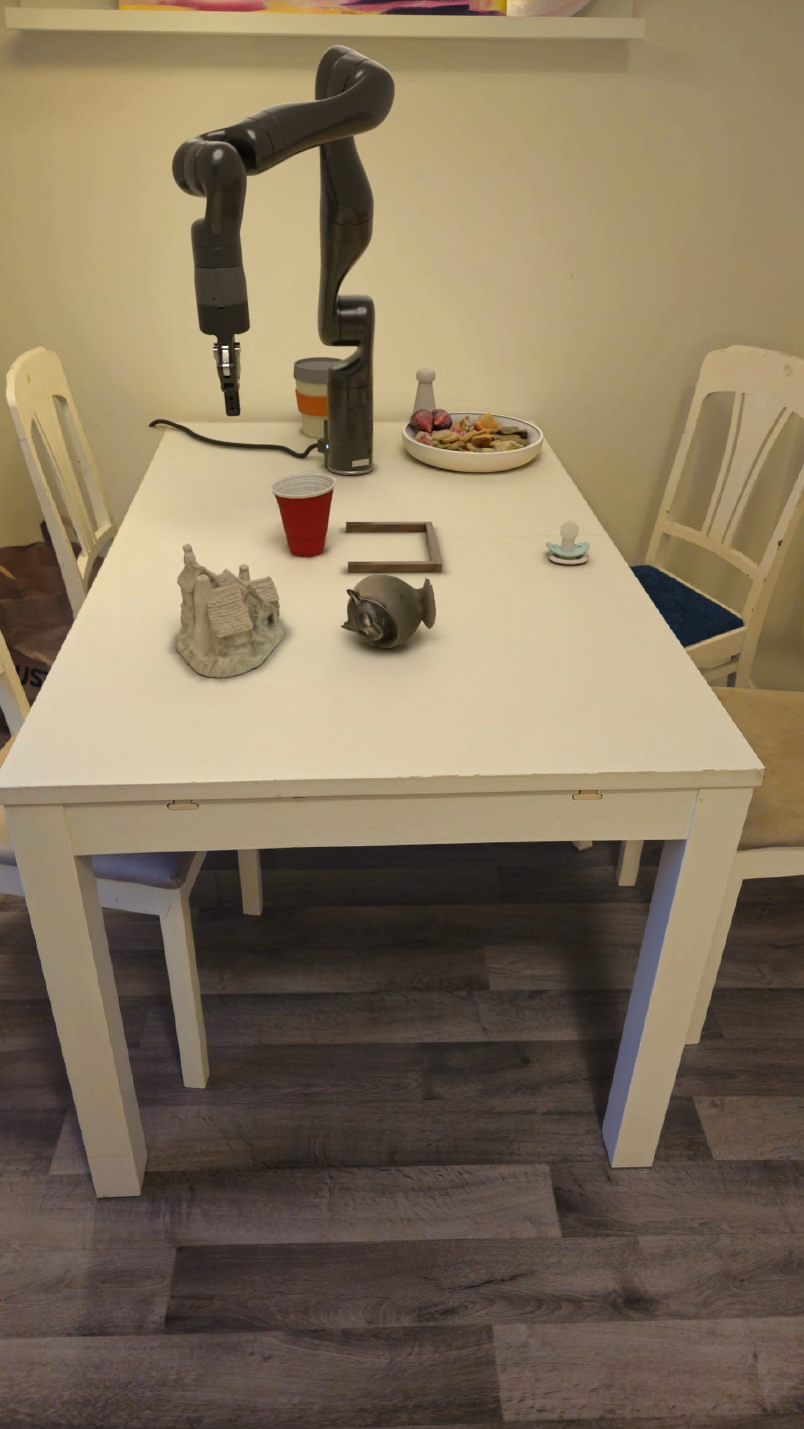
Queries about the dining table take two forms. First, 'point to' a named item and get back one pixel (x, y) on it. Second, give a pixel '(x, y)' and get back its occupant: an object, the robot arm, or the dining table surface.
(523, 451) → the bowl
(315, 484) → the plastic cup
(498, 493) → the dining table surface
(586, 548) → the pacifier
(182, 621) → the ceramic cottage
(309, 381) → the reusable coffee cup
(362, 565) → the frame
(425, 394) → the salt shaker
